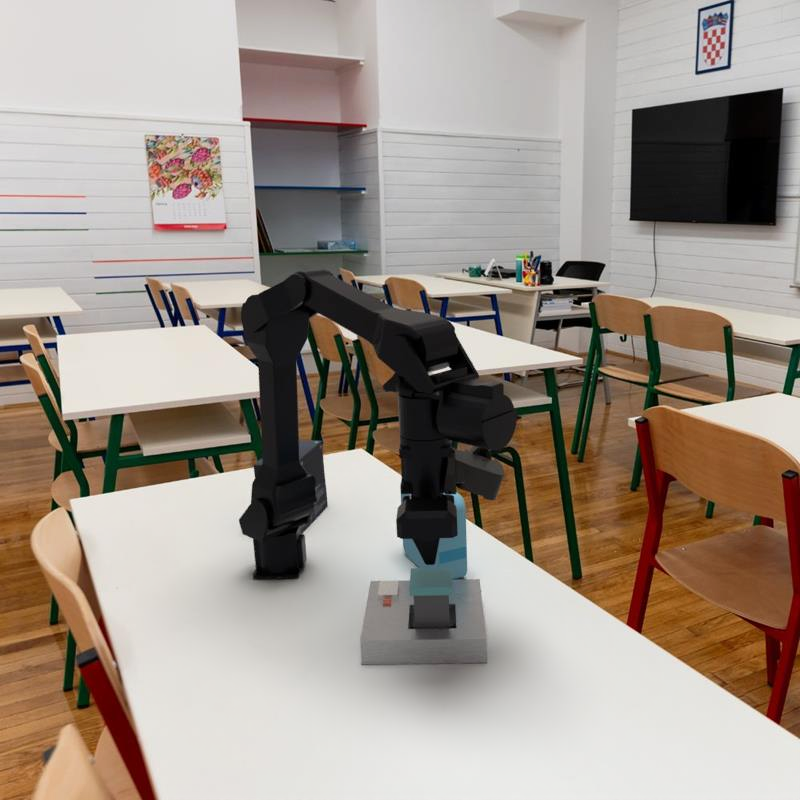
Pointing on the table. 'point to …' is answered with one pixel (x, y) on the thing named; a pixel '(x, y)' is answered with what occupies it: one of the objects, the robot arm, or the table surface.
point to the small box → (314, 466)
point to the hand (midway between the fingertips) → (430, 563)
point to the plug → (431, 597)
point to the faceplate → (399, 644)
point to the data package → (445, 545)
